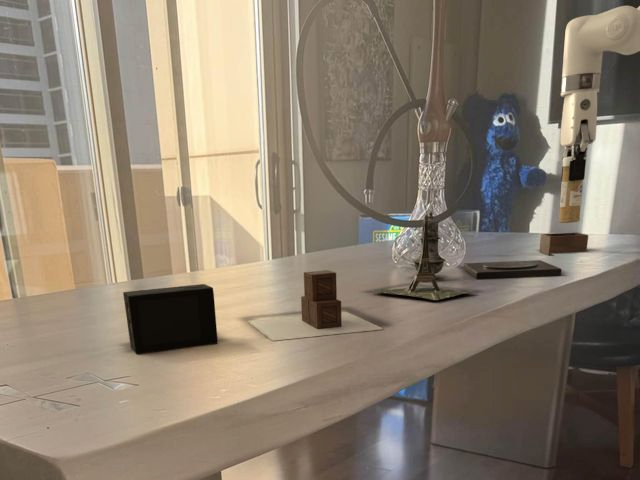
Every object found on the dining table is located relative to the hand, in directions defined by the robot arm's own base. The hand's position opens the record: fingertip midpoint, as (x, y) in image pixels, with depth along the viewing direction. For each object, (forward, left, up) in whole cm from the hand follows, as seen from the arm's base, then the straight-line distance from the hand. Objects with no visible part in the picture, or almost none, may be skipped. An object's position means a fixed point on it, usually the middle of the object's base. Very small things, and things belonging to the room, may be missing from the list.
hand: (572, 179), depth 152 cm
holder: (0, 0, -15) cm, 15 cm away
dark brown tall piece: (+34, +36, -16) cm, 52 cm away
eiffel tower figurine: (+37, +53, -16) cm, 67 cm away
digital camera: (+71, +86, -16) cm, 113 cm away
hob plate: (+18, +30, -15) cm, 38 cm away
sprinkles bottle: (0, 0, -9) cm, 9 cm away
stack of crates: (+54, +76, -16) cm, 95 cm away
